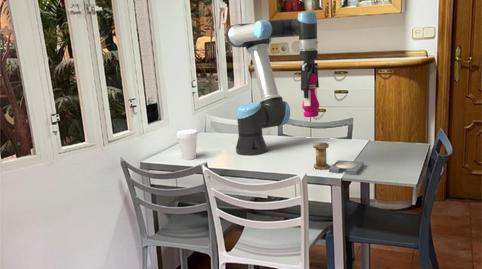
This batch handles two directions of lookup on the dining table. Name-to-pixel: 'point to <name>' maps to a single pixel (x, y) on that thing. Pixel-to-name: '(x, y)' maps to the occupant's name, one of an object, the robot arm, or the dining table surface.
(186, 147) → the foam cup
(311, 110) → the pepper mill
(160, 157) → the dining table surface
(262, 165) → the dining table surface
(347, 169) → the notched board
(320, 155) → the bobbin
